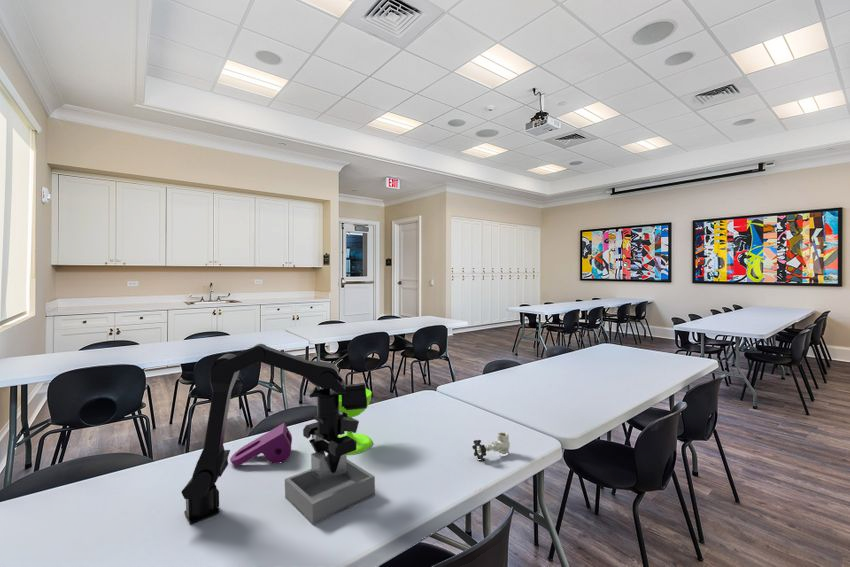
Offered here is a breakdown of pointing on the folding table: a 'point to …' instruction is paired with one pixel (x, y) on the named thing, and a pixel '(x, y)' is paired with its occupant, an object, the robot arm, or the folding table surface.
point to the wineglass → (361, 439)
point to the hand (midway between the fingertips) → (329, 469)
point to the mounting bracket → (266, 447)
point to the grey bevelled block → (326, 466)
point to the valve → (492, 446)
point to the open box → (328, 492)
